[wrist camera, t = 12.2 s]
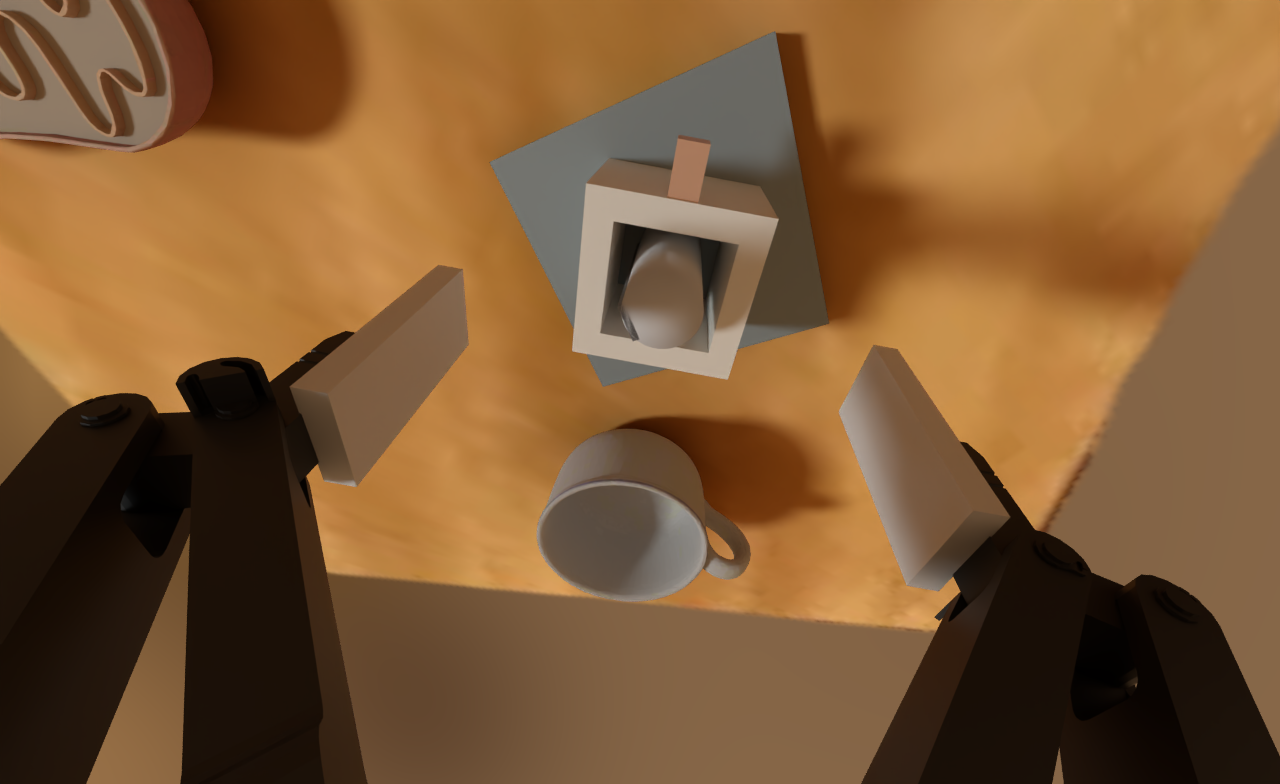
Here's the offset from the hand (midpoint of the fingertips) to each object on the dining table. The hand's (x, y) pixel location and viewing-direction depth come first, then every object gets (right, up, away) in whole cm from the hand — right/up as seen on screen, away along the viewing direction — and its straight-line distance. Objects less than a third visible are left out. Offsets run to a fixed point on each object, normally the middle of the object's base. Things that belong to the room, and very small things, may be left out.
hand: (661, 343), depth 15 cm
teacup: (0, -7, +21) cm, 22 cm away
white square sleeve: (+1, +6, +9) cm, 11 cm away
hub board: (+1, +7, +10) cm, 12 cm away
